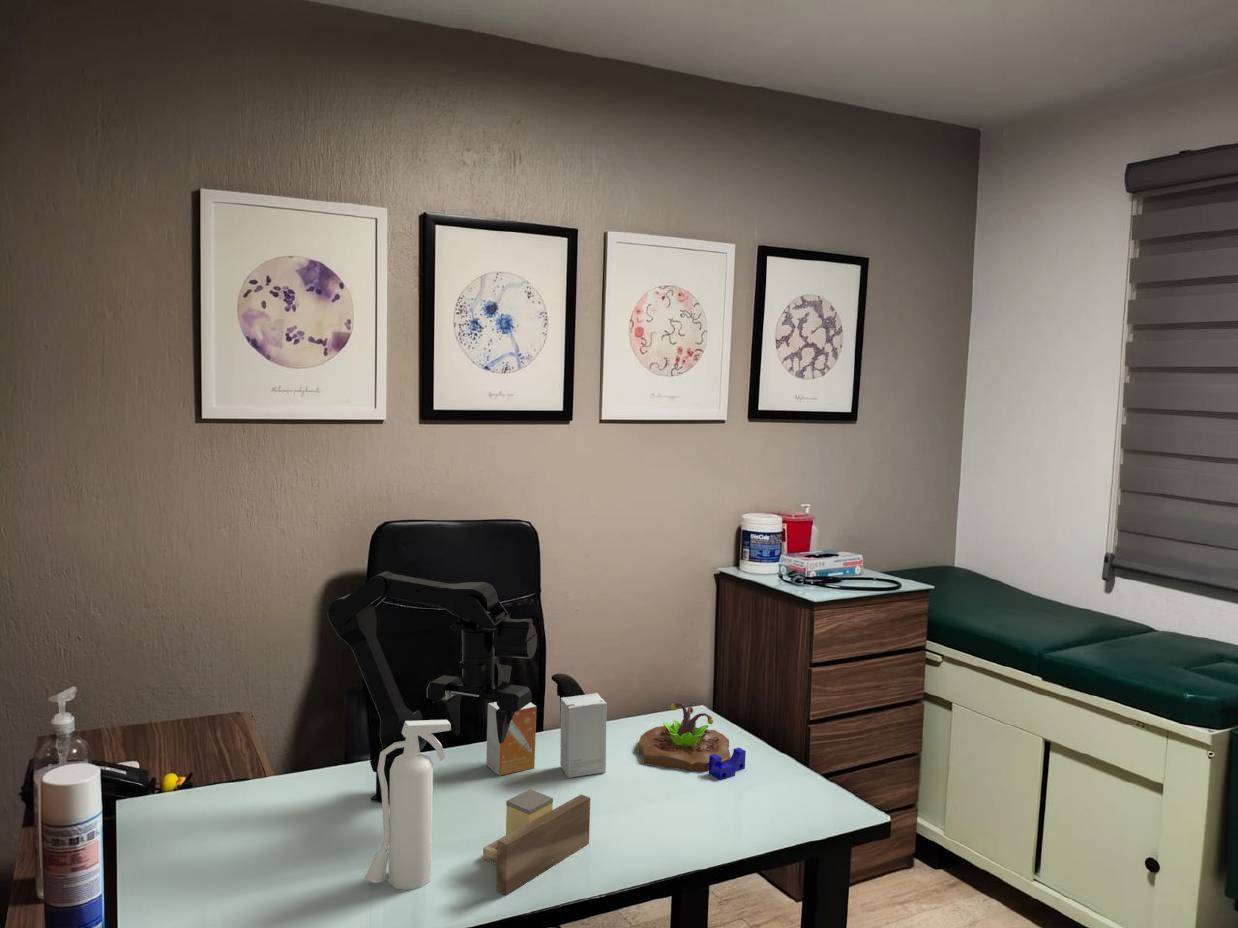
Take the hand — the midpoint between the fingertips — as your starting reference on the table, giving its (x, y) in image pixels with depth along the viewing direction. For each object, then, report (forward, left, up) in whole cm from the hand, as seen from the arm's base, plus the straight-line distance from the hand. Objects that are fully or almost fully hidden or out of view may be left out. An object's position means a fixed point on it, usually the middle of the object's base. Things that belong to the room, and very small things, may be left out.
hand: (479, 738), depth 158 cm
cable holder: (+40, +33, -13) cm, 53 cm away
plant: (+28, +39, -14) cm, 51 cm away
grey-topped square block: (+16, -12, -13) cm, 24 cm away
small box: (-2, +18, -13) cm, 23 cm away
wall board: (+15, -12, -13) cm, 23 cm away
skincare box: (+12, +22, -13) cm, 28 cm away
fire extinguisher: (+1, -25, -13) cm, 28 cm away
